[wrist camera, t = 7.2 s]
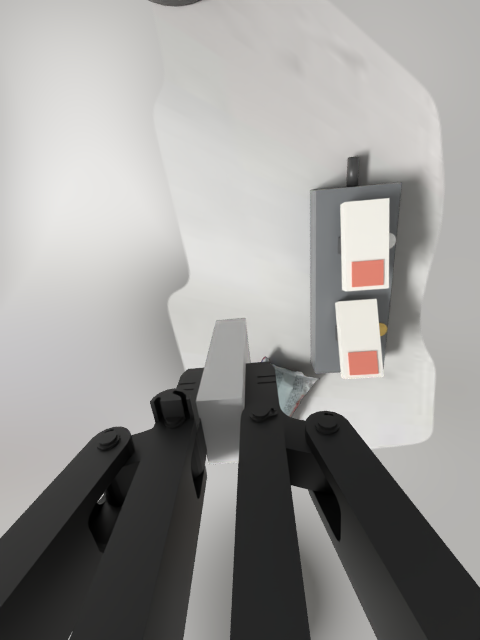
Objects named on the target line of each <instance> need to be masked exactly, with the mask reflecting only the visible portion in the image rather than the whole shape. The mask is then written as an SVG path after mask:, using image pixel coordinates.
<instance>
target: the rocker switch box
mask: <svg viewBox="0 0 480 640" xmlns="http://www.w3.org/2000/svg"><path fill="white" fill-rule="evenodd" d="M358 171H359V157H349V158H348V162H347V187H342V188H331V189H320V190H310V291H311V363H312V366H313V369H314V372H315V374H320V373H337V372H341V369H340V357H339V345H338V333H337V321H336V309H335V303H336V302H339V301H353V300H367V299H377V308H378V319H379V330H380V341H381V352H382V362H383V369H384V358H385V348H386V338H387V328H388V318H389V308H390V297H391V287H392V277H393V267H394V257H395V246H396V236H397V226H398V216H399V206H400V196H401V185H402V183H385V184H374V185H363V186H358ZM385 198H389V288H386V289H372V290H358V291H343V290H342V263H341V215H340V205H341V204H342V203H344V202H351V201H362V200H374V199H385Z"/></svg>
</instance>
